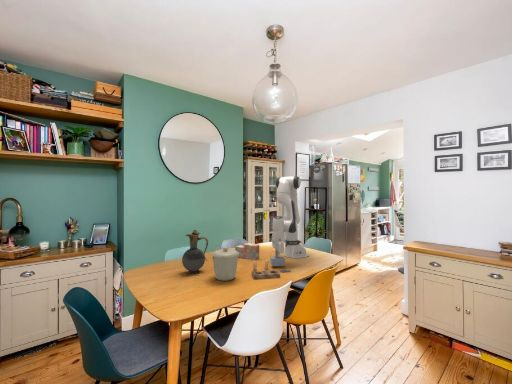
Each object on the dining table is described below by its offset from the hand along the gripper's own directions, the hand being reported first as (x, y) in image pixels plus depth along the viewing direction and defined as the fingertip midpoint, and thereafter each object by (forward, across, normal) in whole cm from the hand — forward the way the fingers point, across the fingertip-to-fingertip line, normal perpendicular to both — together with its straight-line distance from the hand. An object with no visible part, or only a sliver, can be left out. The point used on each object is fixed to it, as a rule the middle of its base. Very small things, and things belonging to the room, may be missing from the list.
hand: (277, 255), depth 186 cm
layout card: (+8, -11, -2) cm, 14 cm away
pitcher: (+9, +1, +61) cm, 62 cm away
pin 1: (+9, -5, +19) cm, 21 cm away
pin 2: (+9, -4, +10) cm, 14 cm away
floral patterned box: (+9, +30, +19) cm, 37 cm away
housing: (+7, 0, 0) cm, 7 cm away
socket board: (+8, -18, +14) cm, 24 cm away
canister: (+9, -16, +41) cm, 45 cm away
